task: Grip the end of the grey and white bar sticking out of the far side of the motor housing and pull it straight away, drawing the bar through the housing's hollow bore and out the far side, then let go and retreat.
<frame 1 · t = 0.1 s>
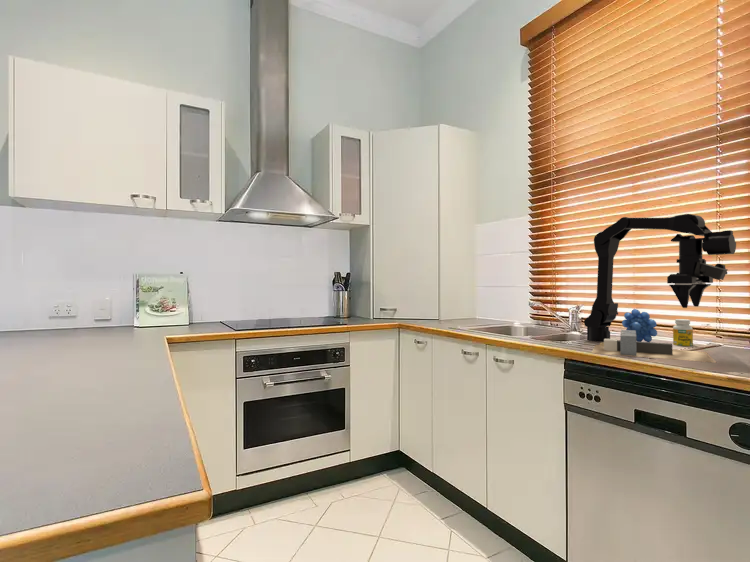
hand: (690, 307, 129), 15 cm above the counter, tool pointing down, fingers open, 9 cm apart
supplement bottle: (682, 349, 141), on the counter
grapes: (638, 342, 155), on the counter
mounting board: (648, 356, 127), on the counter
grey and white bar: (610, 349, 132), point 1 cm above the counter, touching mounting board
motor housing: (628, 351, 130), resting on mounting board
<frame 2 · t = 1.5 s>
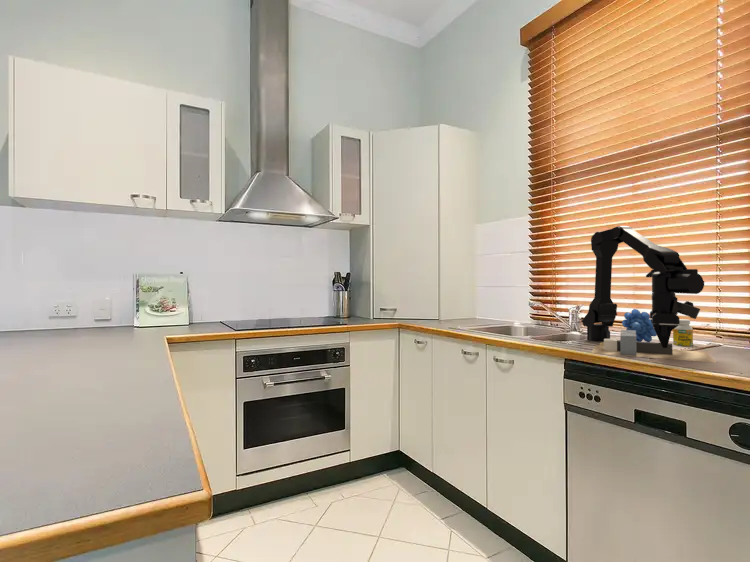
hand: (663, 345, 125), 4 cm above the counter, tool pointing down, fingers open, 9 cm apart
nothing on the counter moved.
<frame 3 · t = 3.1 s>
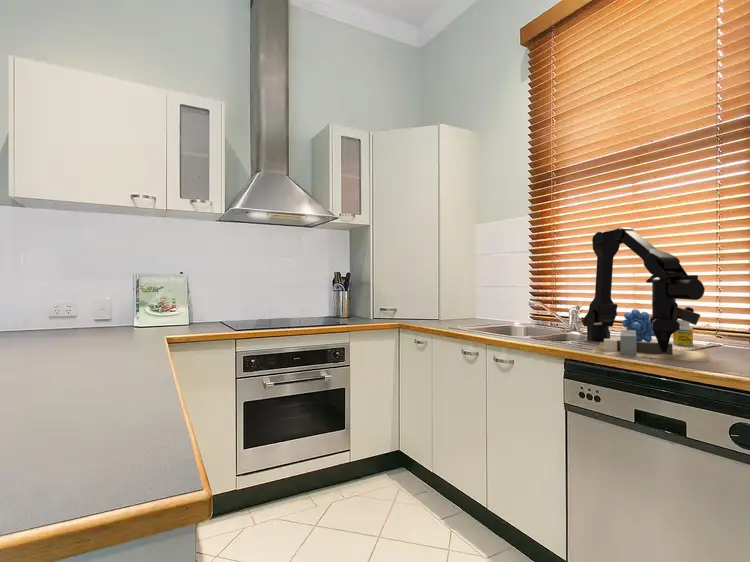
hand: (663, 351, 125), 2 cm above the counter, tool pointing down, fingers closed on grey and white bar, 2 cm apart
grey and white bar: (610, 349, 132), point 1 cm above the counter, touching gripper, mounting board
everything else where it was.
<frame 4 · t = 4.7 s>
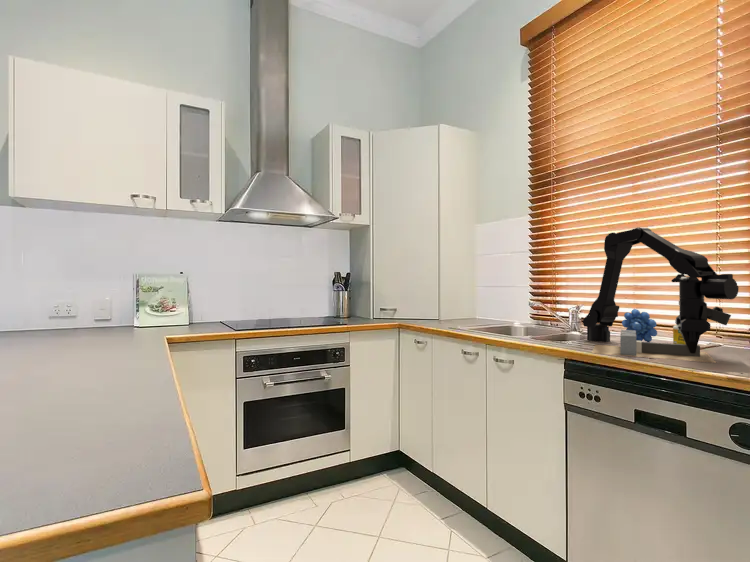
hand: (692, 352, 121), 2 cm above the counter, tool pointing down, fingers closed on grey and white bar, 2 cm apart
grey and white bar: (634, 351, 129), point 1 cm above the counter, touching gripper
everything else where it was.
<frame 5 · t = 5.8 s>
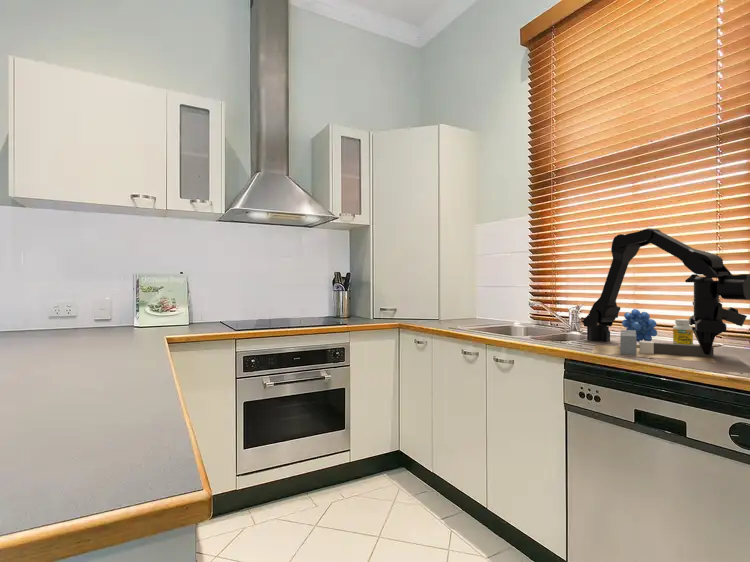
hand: (706, 353, 120), 2 cm above the counter, tool pointing down, fingers closed on grey and white bar, 2 cm apart
grey and white bar: (646, 352, 127), point 1 cm above the counter, touching gripper, mounting board
everything else where it was.
when the fingers open (2 cm above the counter, at t = 6.4 s): grey and white bar stays where it is, resting on mounting board.
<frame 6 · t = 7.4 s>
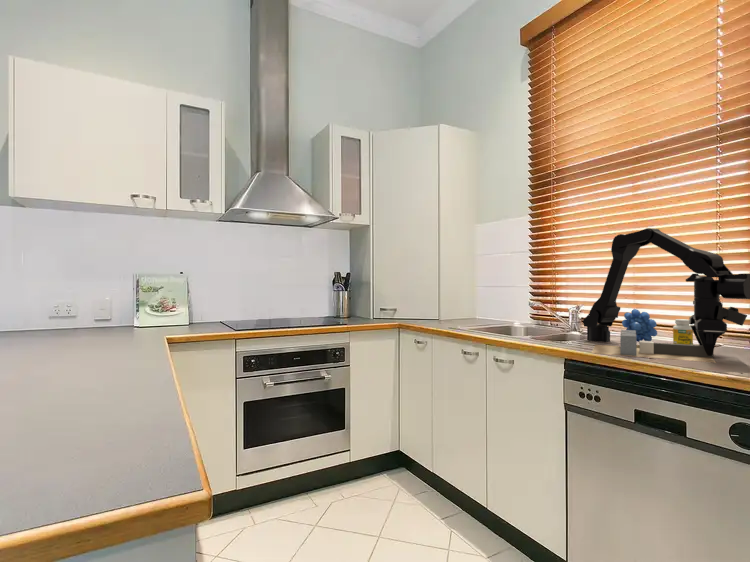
hand: (706, 353, 120), 2 cm above the counter, tool pointing down, fingers open, 9 cm apart
grey and white bar: (646, 352, 127), point 1 cm above the counter, touching mounting board
everything else where it was.
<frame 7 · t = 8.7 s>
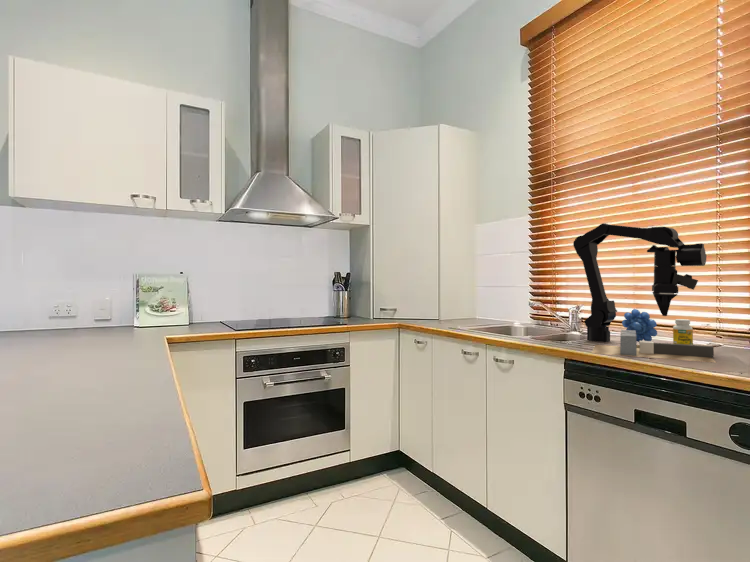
hand: (663, 314, 136), 12 cm above the counter, tool pointing down, fingers open, 9 cm apart
nothing on the counter moved.
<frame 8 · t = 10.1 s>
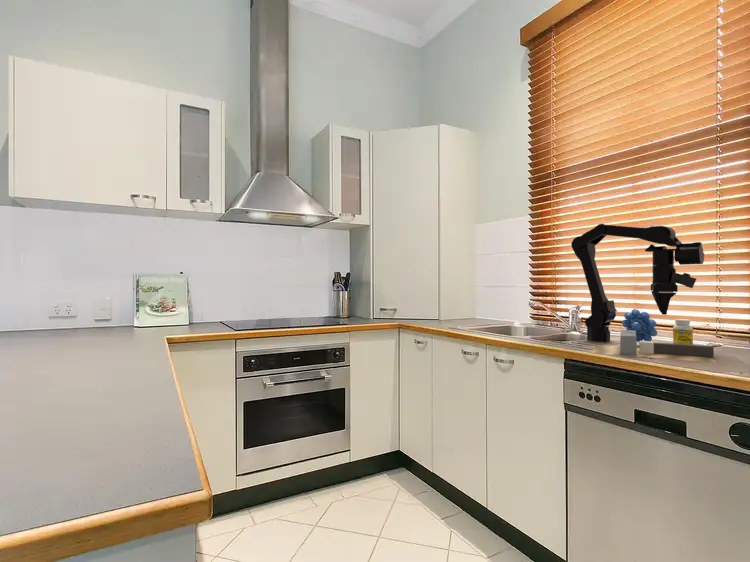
hand: (663, 313, 137), 12 cm above the counter, tool pointing down, fingers open, 9 cm apart
nothing on the counter moved.
at the end: grey and white bar 2.0 cm from the target spot on the counter beside the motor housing, resting on mounting board; the gripper is holding nothing; grey and white bar tilted 0° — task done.
